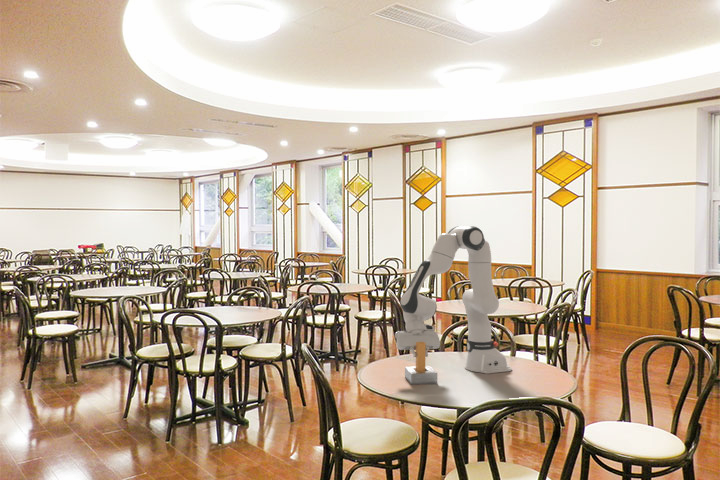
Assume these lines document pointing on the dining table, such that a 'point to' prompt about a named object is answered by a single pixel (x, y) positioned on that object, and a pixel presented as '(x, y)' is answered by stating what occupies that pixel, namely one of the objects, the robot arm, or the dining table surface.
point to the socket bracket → (421, 375)
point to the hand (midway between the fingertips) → (421, 356)
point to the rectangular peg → (420, 356)
